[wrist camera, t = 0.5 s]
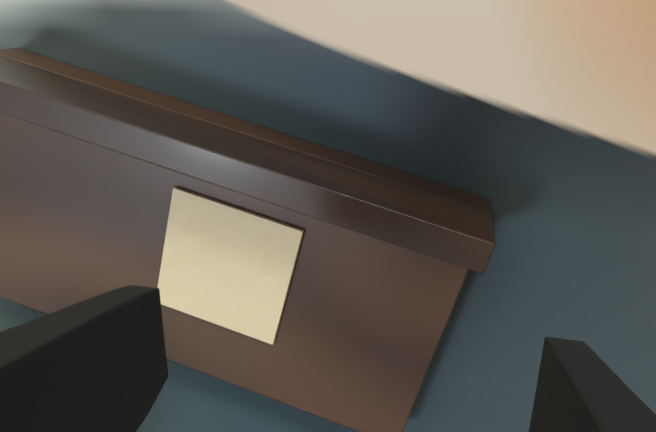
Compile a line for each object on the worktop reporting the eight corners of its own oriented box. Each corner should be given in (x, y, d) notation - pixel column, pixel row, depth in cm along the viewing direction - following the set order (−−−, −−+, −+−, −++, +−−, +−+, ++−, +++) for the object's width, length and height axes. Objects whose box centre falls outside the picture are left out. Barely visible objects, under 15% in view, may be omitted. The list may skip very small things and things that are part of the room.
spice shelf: (401, 420, 23) (389, 499, 19) (8, 275, 25) (-70, 321, 21) (490, 198, 19) (496, 244, 15) (17, 47, 21) (-77, 56, 17)
